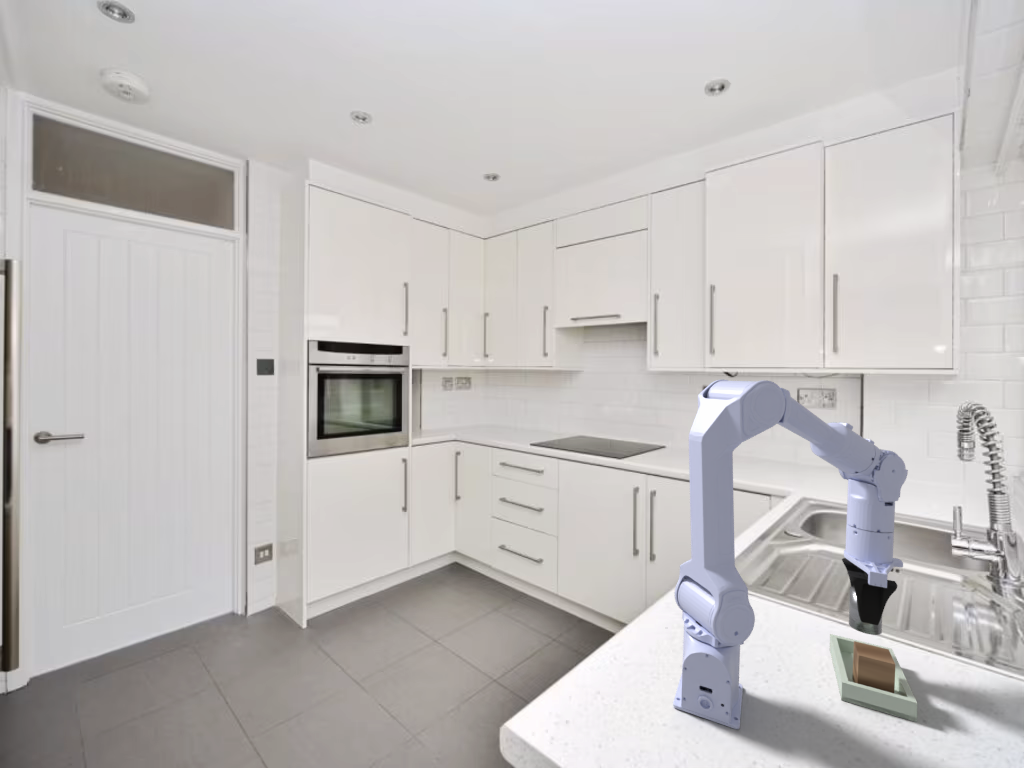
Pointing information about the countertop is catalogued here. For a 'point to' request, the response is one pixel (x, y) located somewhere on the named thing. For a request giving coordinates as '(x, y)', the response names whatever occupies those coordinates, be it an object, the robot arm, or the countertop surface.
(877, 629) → the steel cylinder
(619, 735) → the countertop surface
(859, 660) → the walnut block
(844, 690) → the tray
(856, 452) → the robot arm
